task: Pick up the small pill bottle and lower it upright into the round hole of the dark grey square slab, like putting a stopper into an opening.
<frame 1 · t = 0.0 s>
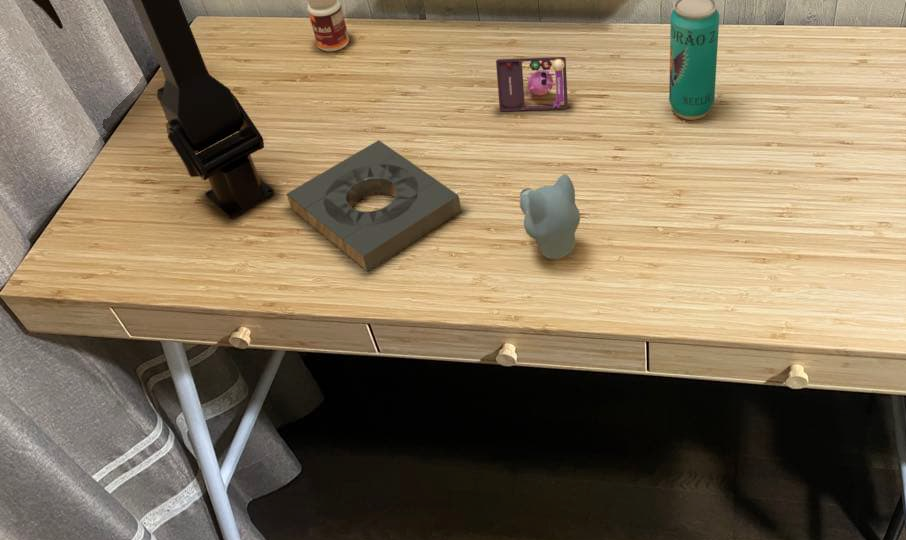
hand: (93, 12, 130), 15 cm above the table, tool pointing down, fingers open, 9 cm apart
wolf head: (548, 246, 116), on the table
grey square slab: (375, 210, 122), on the table
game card: (534, 101, 135), on the table
pill bottle: (333, 44, 148), on the table
beverage can: (691, 110, 131), on the table
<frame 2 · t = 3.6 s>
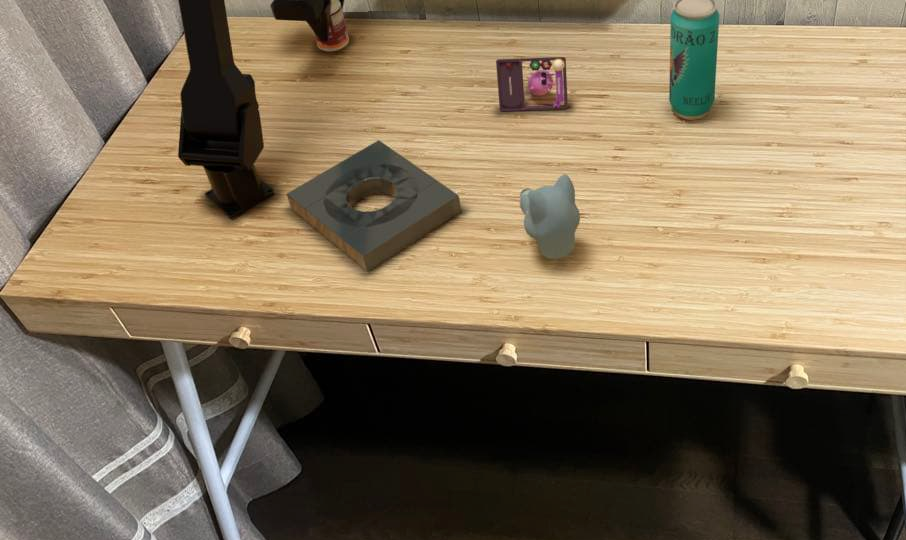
hand: (330, 31, 147), 2 cm above the table, tool pointing down, fingers closed on pill bottle, 5 cm apart
pill bottle: (333, 44, 148), on the table, touching gripper
everything else where it was.
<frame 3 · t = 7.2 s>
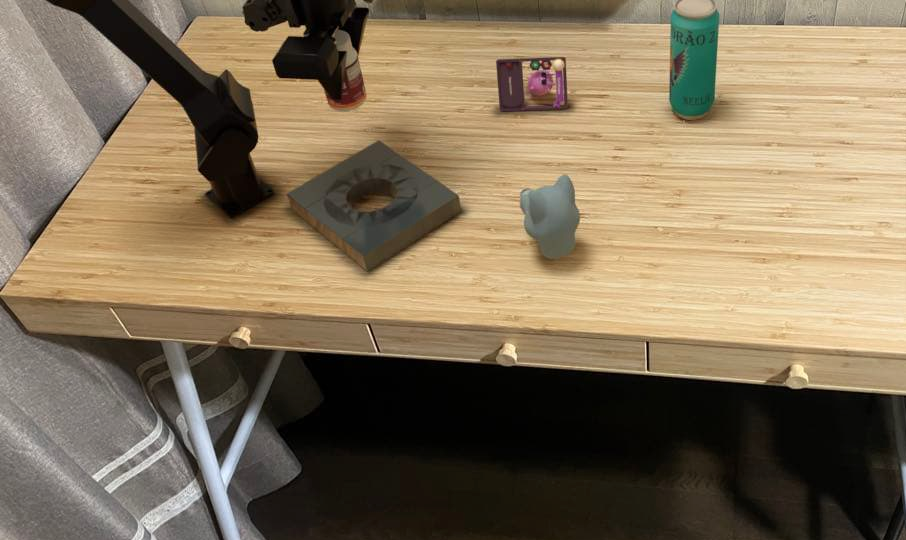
hand: (343, 86, 119), 12 cm above the table, tool pointing down, fingers closed on pill bottle, 5 cm apart
pill bottle: (348, 102, 121), point 10 cm above the table, touching gripper
everything else where it was.
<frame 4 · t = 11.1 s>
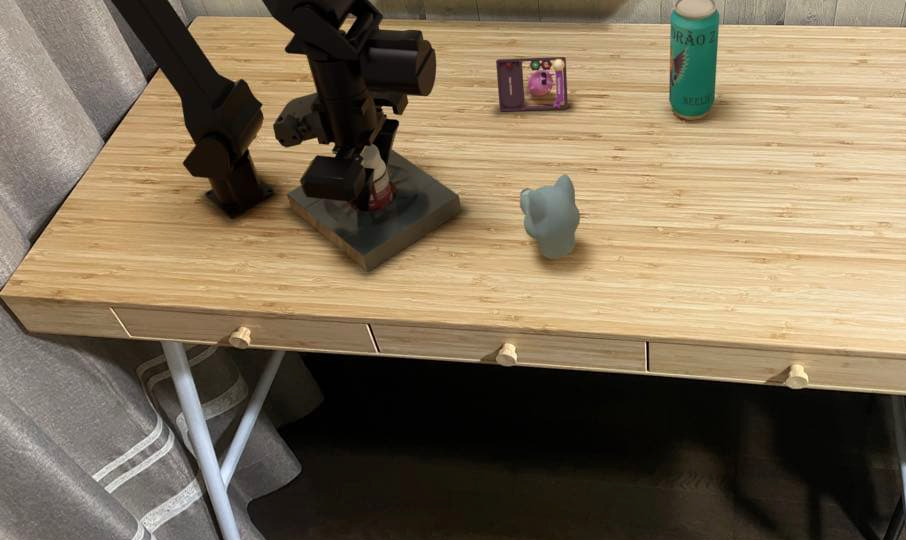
hand: (371, 195, 120), 2 cm above the table, tool pointing down, fingers closed on pill bottle, 5 cm apart
pill bottle: (375, 209, 122), resting in grey square slab, touching gripper
everything else where it was.
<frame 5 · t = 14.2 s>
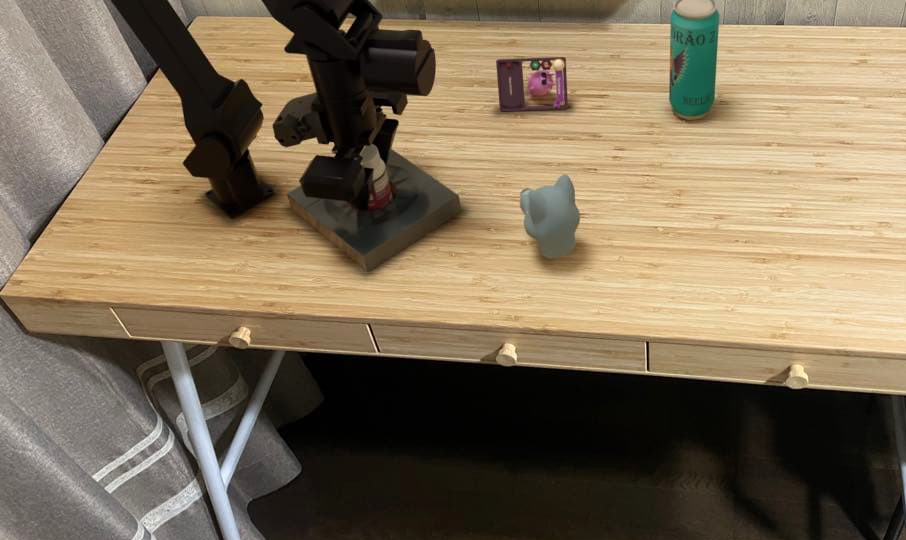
hand: (370, 195, 120), 2 cm above the table, tool pointing down, fingers closed on pill bottle, 5 cm apart
pill bottle: (375, 209, 122), resting in grey square slab, touching gripper
everything else where it was.
when the fingers open (3 cm above the table, at t = 17.1 s): pill bottle drops 1 cm, resting in grey square slab.
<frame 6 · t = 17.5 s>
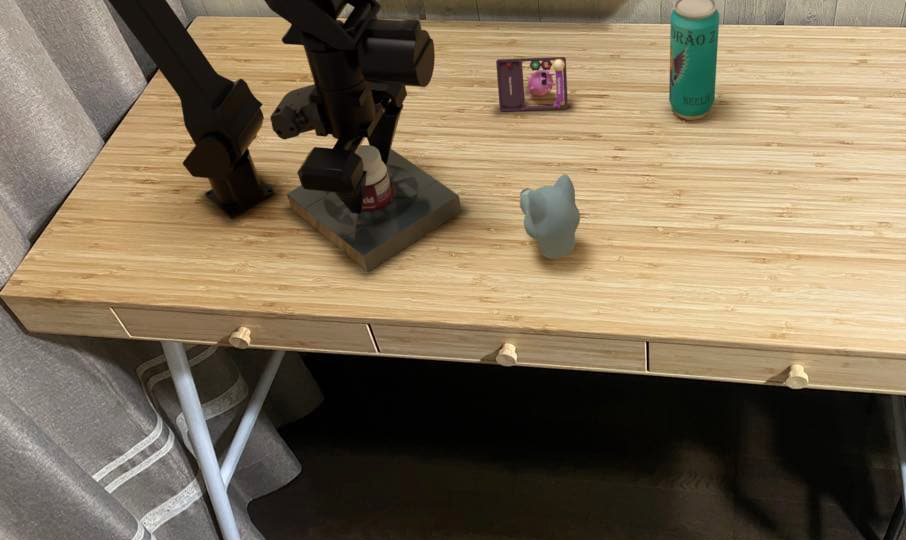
hand: (369, 188, 119), 3 cm above the table, tool pointing down, fingers open, 8 cm apart
pill bottle: (376, 211, 122), resting in grey square slab
everything else where it was.
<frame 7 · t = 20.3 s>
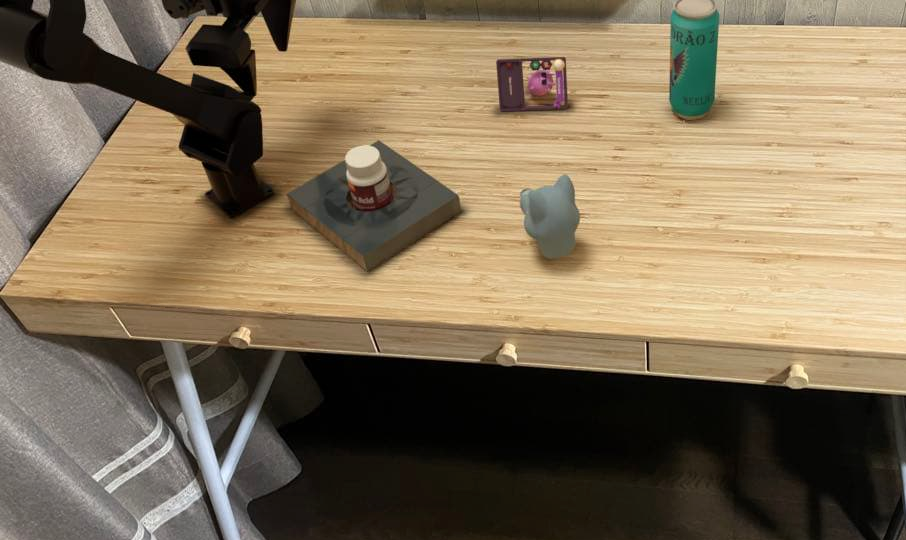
hand: (267, 72, 122), 12 cm above the table, tool pointing down, fingers open, 9 cm apart
nothing on the table moved.
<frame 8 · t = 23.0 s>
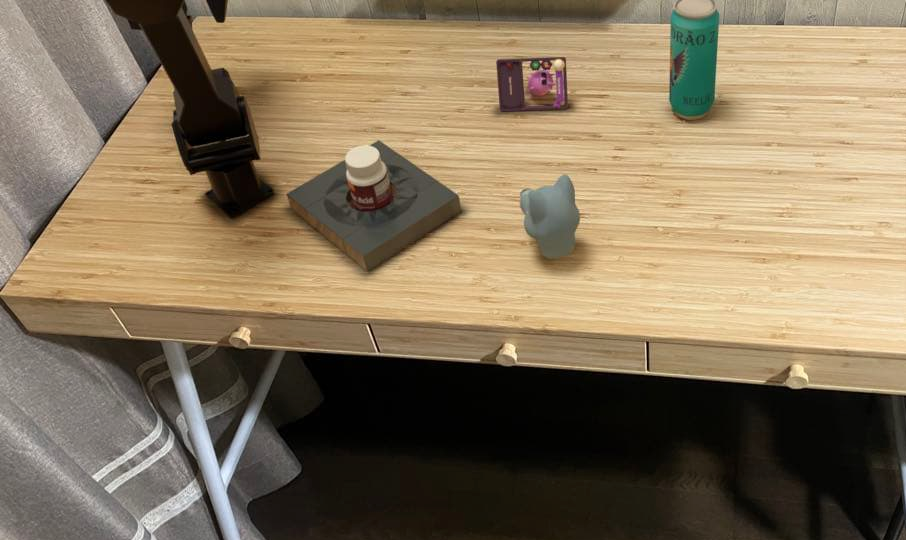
hand: (205, 41, 128), 12 cm above the table, tool pointing down, fingers open, 9 cm apart
nothing on the table moved.
at the end: pill bottle 0.1 cm off-centre in the grey square slab, point 0.0 cm above the grey square slab's base; pill bottle tilted 1°; the gripper is holding nothing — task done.
